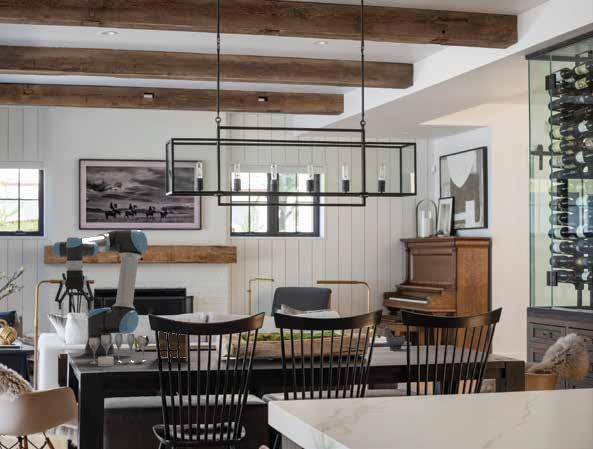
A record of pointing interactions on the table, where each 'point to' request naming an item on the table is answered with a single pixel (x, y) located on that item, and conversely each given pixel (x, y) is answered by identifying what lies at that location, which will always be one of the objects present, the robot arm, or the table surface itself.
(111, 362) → the cream squat rounded piece
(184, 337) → the walnut shelf
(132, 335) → the goblet set
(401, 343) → the mortar and pestle
